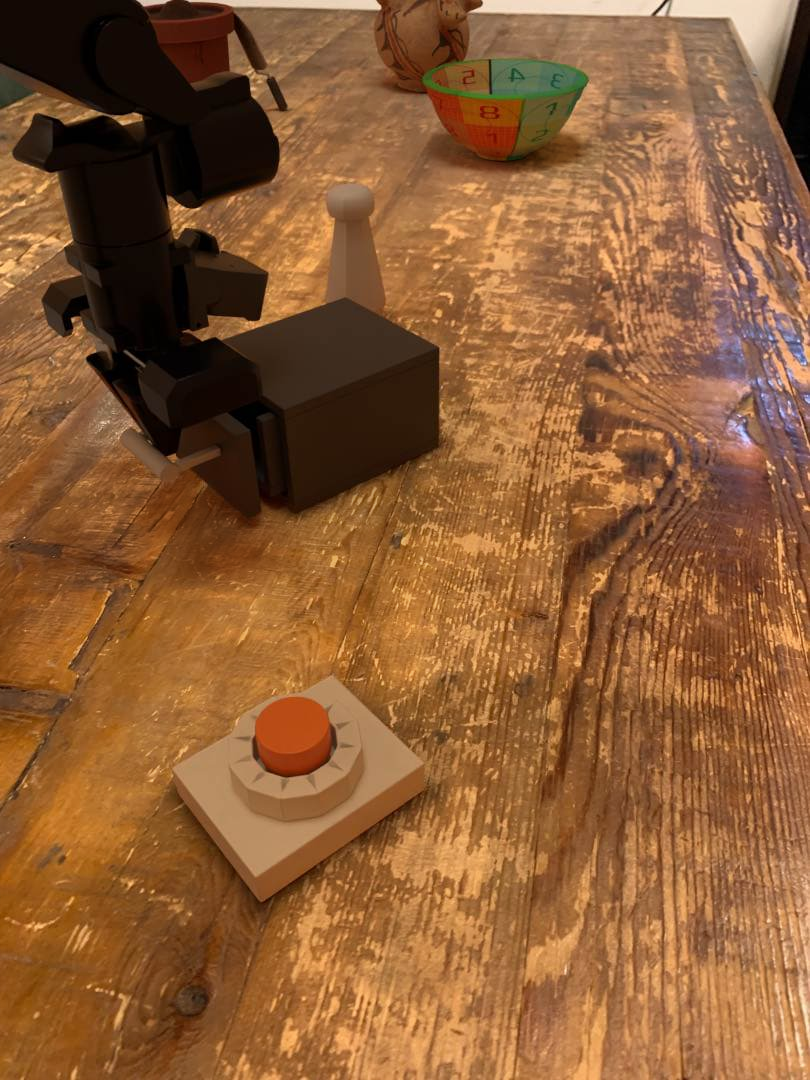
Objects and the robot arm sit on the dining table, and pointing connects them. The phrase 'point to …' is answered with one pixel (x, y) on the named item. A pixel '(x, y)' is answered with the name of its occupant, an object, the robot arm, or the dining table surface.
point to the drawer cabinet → (344, 396)
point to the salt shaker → (353, 249)
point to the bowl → (504, 103)
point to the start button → (293, 736)
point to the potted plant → (206, 40)
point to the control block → (298, 791)
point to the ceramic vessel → (422, 36)
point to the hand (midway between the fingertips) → (168, 452)
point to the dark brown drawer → (224, 455)
